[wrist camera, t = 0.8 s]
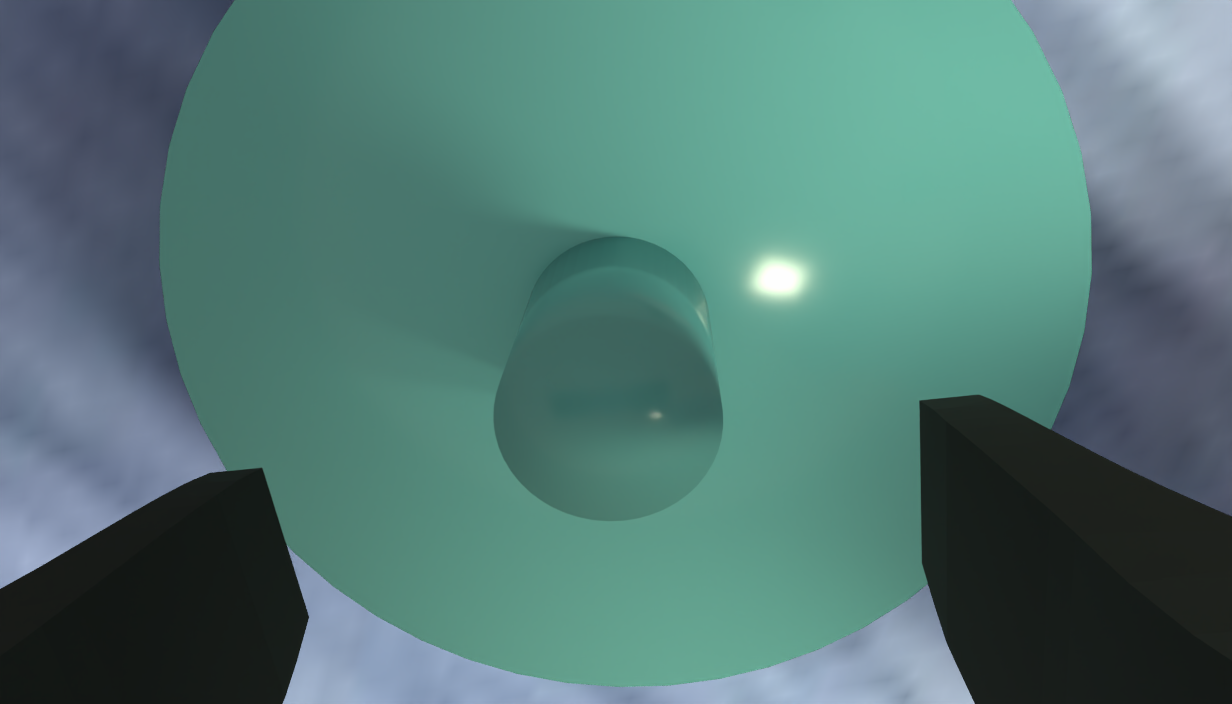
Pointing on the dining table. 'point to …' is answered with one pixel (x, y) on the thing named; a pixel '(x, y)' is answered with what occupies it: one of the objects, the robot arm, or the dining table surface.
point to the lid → (617, 304)
